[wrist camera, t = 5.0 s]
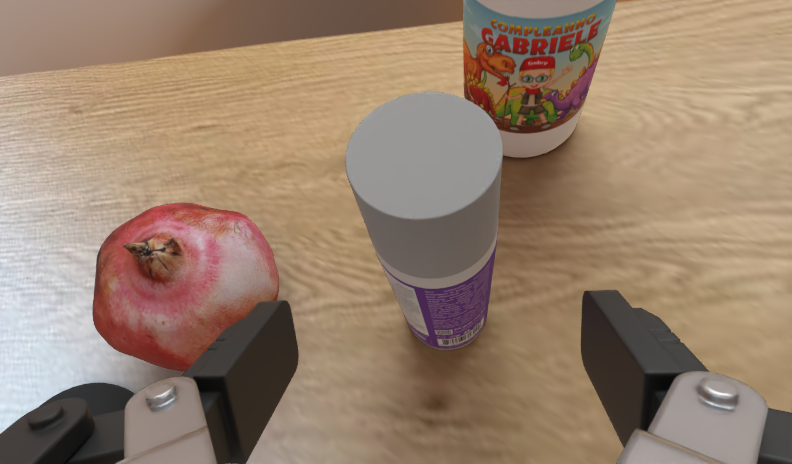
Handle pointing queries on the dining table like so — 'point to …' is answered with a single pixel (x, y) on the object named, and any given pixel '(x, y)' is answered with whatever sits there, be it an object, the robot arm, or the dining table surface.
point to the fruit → (179, 281)
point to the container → (431, 208)
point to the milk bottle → (532, 66)
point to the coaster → (98, 397)
